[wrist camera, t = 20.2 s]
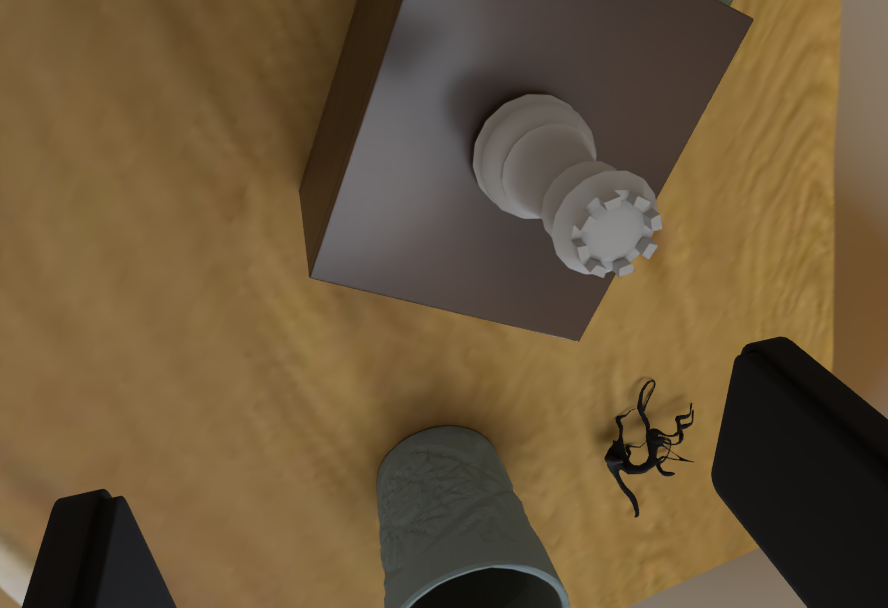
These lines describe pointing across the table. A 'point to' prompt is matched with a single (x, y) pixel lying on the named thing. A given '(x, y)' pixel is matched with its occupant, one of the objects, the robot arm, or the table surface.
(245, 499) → the table surface
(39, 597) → the robot arm
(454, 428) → the grey green cup
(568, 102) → the cabinet
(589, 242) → the rook chess piece
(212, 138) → the table surface
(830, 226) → the table surface
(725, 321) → the table surface
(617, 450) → the creature
